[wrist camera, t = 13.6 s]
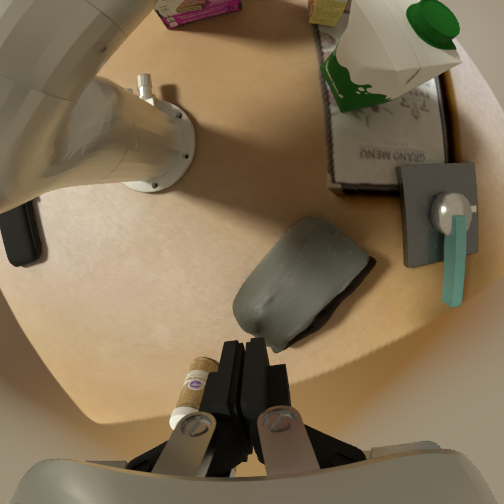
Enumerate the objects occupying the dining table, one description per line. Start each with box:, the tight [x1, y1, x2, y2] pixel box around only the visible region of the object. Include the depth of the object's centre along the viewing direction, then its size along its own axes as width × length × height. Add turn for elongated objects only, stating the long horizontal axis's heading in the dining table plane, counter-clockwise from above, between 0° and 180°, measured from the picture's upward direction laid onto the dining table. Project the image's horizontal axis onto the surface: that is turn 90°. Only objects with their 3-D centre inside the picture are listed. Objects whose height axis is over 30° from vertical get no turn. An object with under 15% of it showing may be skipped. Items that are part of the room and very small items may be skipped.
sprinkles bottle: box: [170, 357, 218, 430], centre depth 37 cm, size 5×5×14 cm
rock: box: [233, 216, 377, 353], centre depth 35 cm, size 18×11×8 cm, turn 142°
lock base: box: [396, 163, 478, 268], centre depth 35 cm, size 14×14×2 cm
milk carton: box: [320, 0, 462, 113], centre depth 22 cm, size 9×9×20 cm
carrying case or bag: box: [0, 199, 41, 267], centre depth 38 cm, size 11×3×15 cm
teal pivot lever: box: [431, 192, 472, 308], centre depth 33 cm, size 6×16×4 cm, turn 9°
